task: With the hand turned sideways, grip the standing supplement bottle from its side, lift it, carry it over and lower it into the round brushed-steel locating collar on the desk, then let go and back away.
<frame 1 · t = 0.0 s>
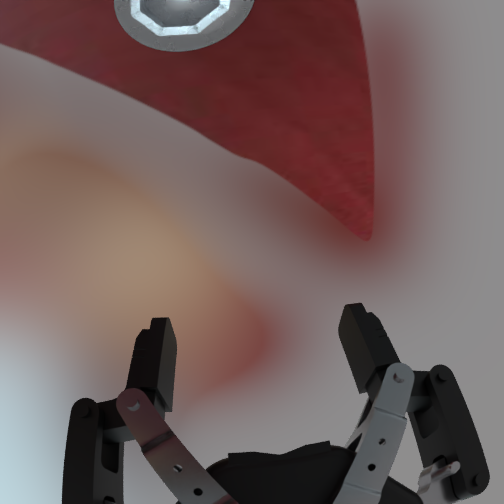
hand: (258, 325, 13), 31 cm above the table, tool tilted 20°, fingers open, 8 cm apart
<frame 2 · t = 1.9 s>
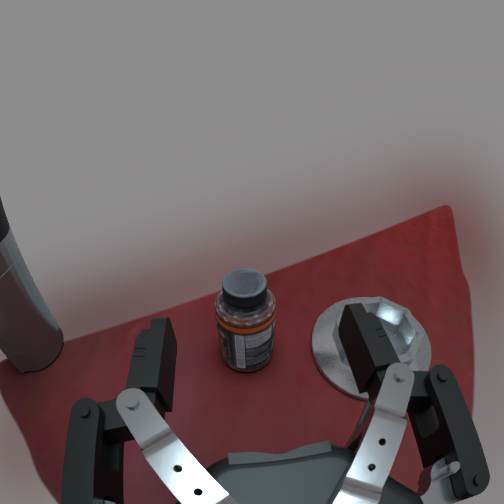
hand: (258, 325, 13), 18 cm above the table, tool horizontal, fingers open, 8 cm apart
steel collar: (373, 346, 32), on the table
supplement bottle: (246, 354, 32), on the table
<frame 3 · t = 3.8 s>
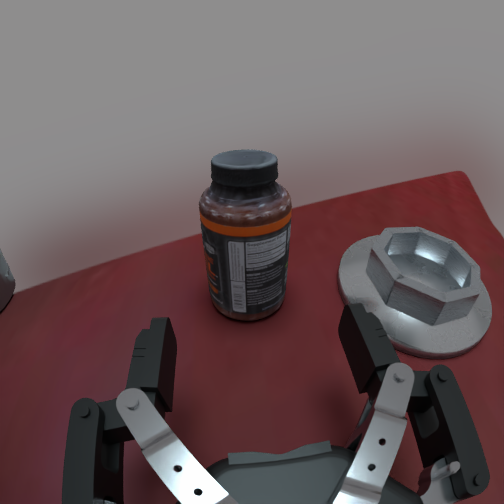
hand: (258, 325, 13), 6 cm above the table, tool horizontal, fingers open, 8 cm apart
steel collar: (418, 289, 23), on the table
supplement bottle: (247, 298, 23), on the table
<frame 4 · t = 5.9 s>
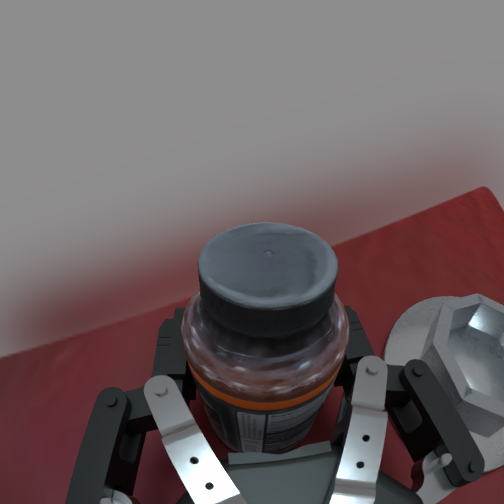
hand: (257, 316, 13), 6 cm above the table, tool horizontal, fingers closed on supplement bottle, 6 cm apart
steel collar: (472, 377, 14), on the table
supplement bottle: (261, 415, 14), on the table, touching gripper
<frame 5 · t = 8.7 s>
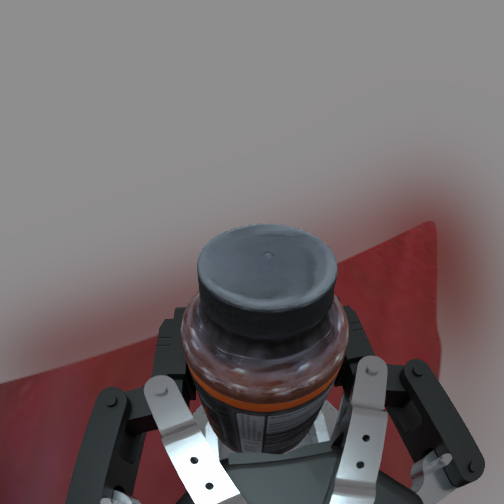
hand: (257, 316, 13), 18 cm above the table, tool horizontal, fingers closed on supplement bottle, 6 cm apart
steel collar: (266, 451, 22), on the table
supplement bottle: (261, 416, 14), point 12 cm above the table, touching gripper
when the fingers open (8 cm above the table, at t = 11.2 s): supplement bottle drops 1 cm, resting on steel collar.
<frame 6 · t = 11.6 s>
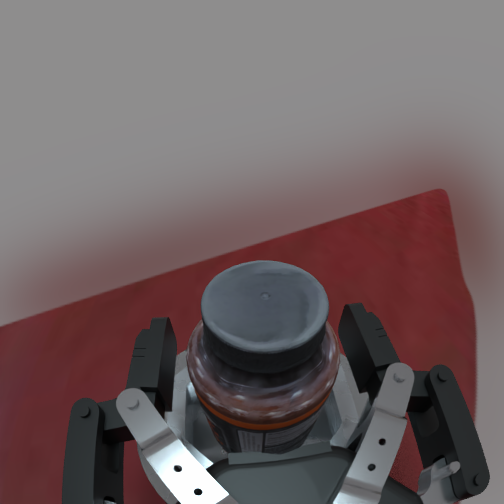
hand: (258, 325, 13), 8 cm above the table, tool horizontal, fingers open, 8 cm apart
steel collar: (260, 427, 16), on the table
supplement bottle: (261, 425, 15), point 1 cm above the table, touching steel collar
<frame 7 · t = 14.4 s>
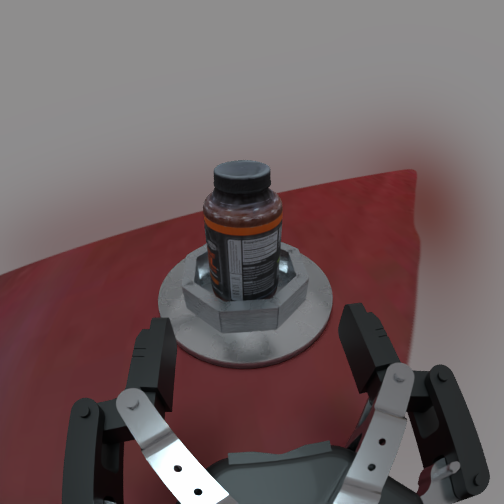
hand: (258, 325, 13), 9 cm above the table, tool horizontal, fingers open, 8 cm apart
steel collar: (245, 296, 26), on the table
supplement bottle: (244, 290, 26), point 1 cm above the table, touching steel collar
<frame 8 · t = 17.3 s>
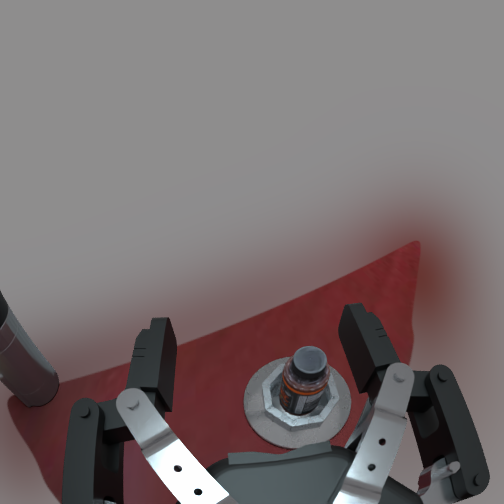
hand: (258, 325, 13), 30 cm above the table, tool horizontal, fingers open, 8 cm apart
steel collar: (297, 401, 38), on the table
supplement bottle: (298, 400, 37), point 1 cm above the table, touching steel collar
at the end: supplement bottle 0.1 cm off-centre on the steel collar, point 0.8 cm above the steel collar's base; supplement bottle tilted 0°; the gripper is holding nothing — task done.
